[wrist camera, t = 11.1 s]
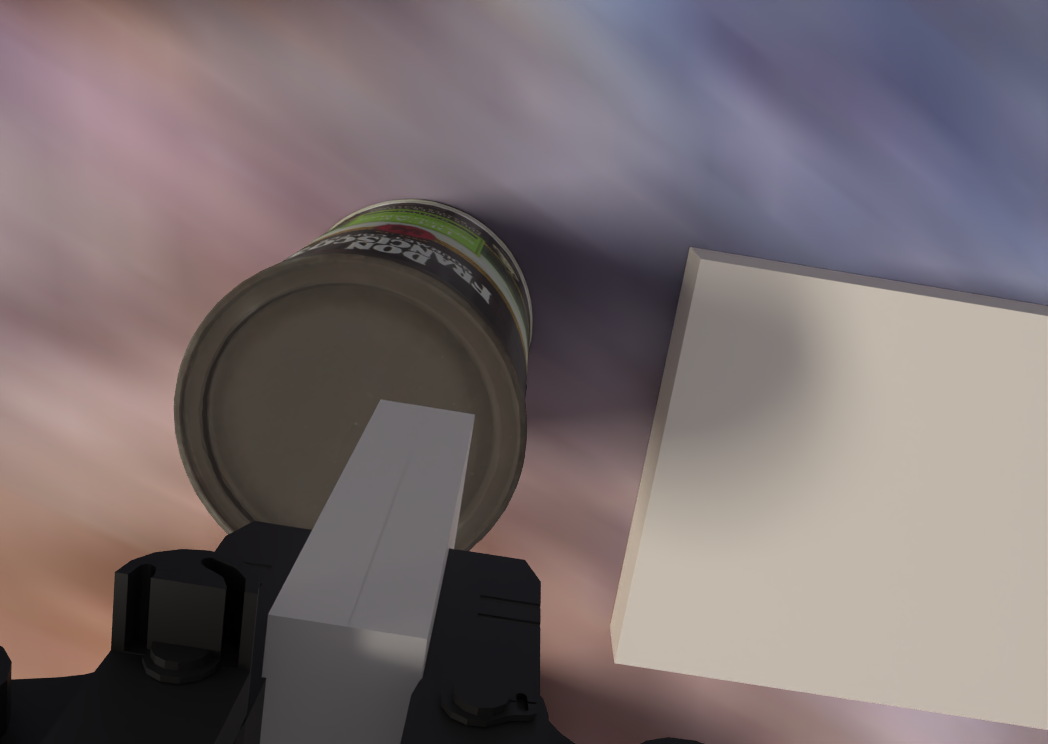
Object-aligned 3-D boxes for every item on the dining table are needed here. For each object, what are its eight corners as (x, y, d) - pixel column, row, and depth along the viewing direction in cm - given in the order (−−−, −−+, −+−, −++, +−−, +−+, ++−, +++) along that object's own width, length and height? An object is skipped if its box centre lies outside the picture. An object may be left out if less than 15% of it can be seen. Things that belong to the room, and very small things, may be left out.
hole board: (689, 246, 41) (700, 259, 38) (1342, 354, 42) (1401, 374, 39) (609, 626, 46) (614, 663, 43) (1193, 717, 47) (1236, 759, 44)
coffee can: (308, 175, 41) (189, 220, 27) (554, 225, 41) (560, 293, 27) (277, 409, 43) (156, 556, 30) (507, 453, 44) (491, 618, 30)
